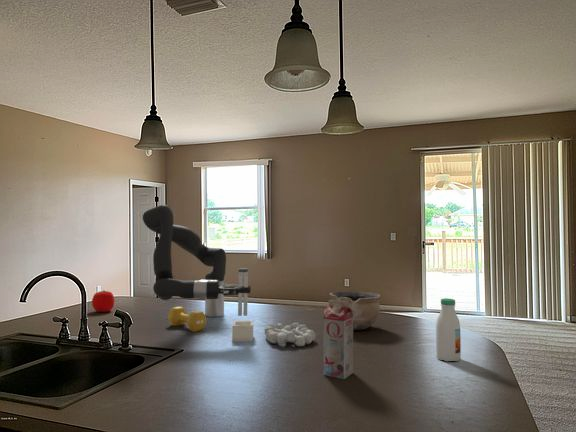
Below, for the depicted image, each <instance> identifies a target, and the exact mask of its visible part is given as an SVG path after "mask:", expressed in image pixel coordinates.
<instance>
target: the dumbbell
mask: <svg viewBox="0 0 576 432" xmlns="http://www.w3.org/2000/svg"><path fill="white" fill-rule="evenodd" d="M167 319H168V322H169V323H170V325H171V326H172V327H178V326H182V325H184V324H186V325H187V327H188V329H189V330H190V331H191V332H194V333H195V332H200V331H203V330H204V328H205V327H206V324H207V322H208V321H207V316H205V312H204V311H201V310H195V311H191V312H190V313H189V314H188V313H187V310H186V309H185V308H184V307H183V306H174V307H172V308H170V310H169V312H168V315H167Z"/></svg>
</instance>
